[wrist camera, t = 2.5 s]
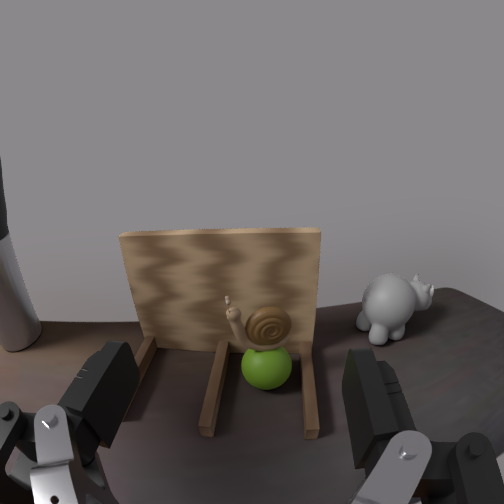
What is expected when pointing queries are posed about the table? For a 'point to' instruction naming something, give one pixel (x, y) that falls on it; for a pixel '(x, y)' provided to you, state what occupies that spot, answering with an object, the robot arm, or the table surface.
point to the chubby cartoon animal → (391, 306)
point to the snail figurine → (263, 345)
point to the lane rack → (223, 297)
